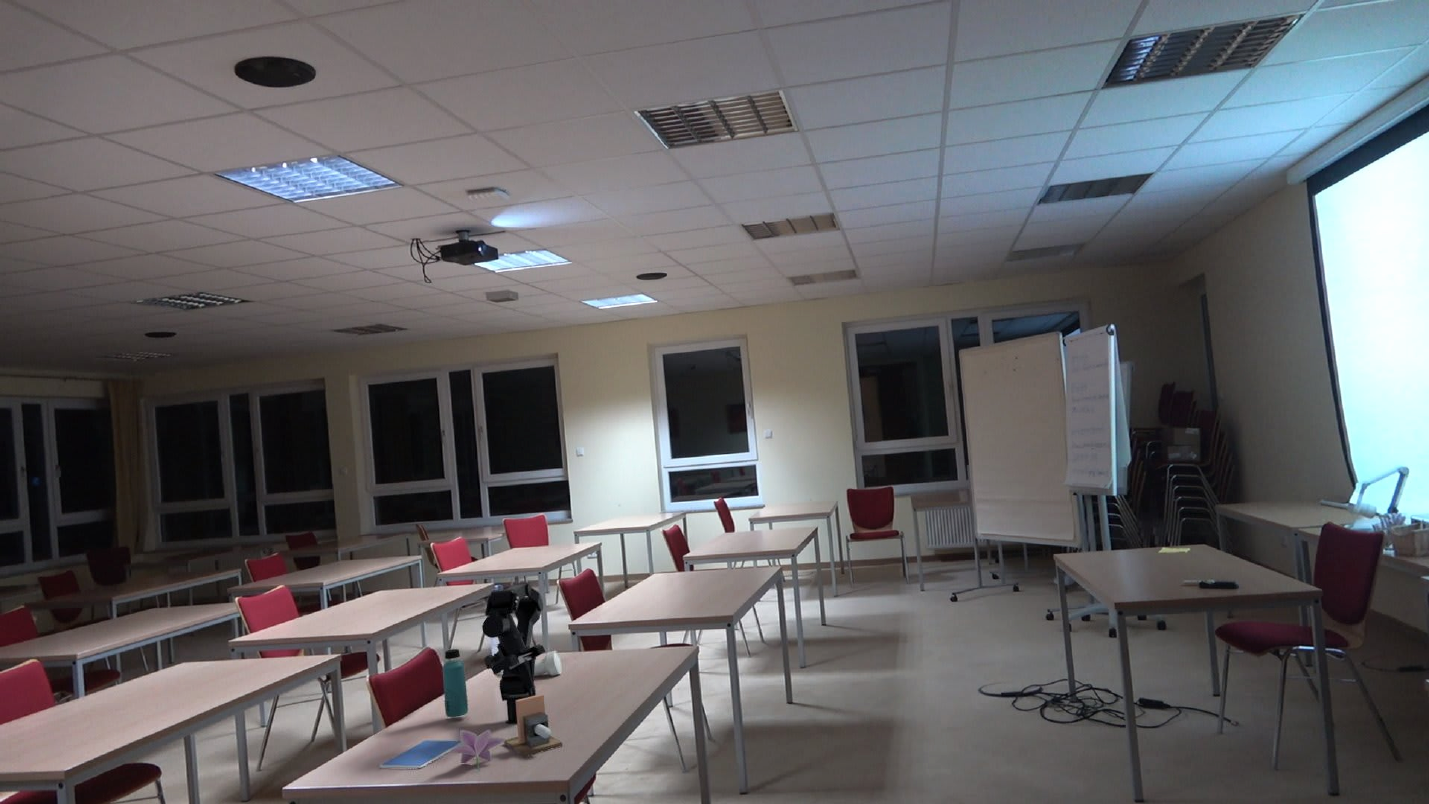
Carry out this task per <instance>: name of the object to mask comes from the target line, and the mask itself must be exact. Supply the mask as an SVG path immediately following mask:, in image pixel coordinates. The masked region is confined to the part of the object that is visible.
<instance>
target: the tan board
mask: <svg viewBox="0 0 1429 804" xmlns="http://www.w3.org/2000/svg"><path fill="white" fill-rule="evenodd" d="M505 740H506V741H505V742H503V744H504V745H505V746H506V747H508V746H509V747H508V748H510V749H511V748H512V750H513V751H515V752H516V751H517V752H516V753H518V752H519V753H518V754H520V755H521V754H522V755H521V756H523V757H524V756H525V758H526V757H529V756H528V755H530V756H532V755H531V754H533V755H536V753H537V754H540V753H542V752H541V751H544V752H547V751H549V750H548V749H551V748H554V749H557V748H556V747H558V748H560V747H559V746H561V747H563V741H561V740H558V739H557V738H555V737H553V736H551V735H550V736H549V740H550V743H548V744H544V745H541V746H537V747H534V748H530V747H528V746H526V745H525V743H522V744H521V743H519V739H518V736H515V737H512V738H507V739H505ZM546 750H547V751H546ZM551 750H552V749H551ZM539 752H540V753H539Z"/></svg>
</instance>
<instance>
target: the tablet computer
mask: <svg viewBox="0 0 1429 804" xmlns="http://www.w3.org/2000/svg"><path fill="white" fill-rule="evenodd" d="M460 745H463V744H462V741H461V740H434V739H433V740H430V739H429V740H424V741H421V742H420V743H418V744H416V745H415V746H412V747H411V748H409V749H406V750H405V751H404V752H402V753H400V754H398V755H396V756H394V757H392V758H390V759H389V760H386V761H385V762H383V763H381V764H380V765H379V767H378V768H379V769H380V768H406V769H405V770H418V769H417V768H421V767H423V766H425V767H426V766H428V765H429V764H428V763H430V764H432V763H433V762H434V760H435V761H437V760H438V759H440V758H441V756H442V757H444V756H445V755H447V754H448V753H450V752H449V751H451V750H452V749H454V748H456V747H458V746H460ZM446 753H447V754H446ZM444 754H445V755H444ZM439 757H440V758H439ZM436 759H437V760H436ZM432 761H433V762H432ZM427 764H428V765H427ZM408 768H409V769H408ZM410 768H411V769H410ZM413 768H414V769H413ZM423 768H424V767H423ZM421 769H422V768H421Z"/></svg>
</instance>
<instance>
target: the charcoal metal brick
mask: <svg viewBox="0 0 1429 804" xmlns="http://www.w3.org/2000/svg"><path fill="white" fill-rule="evenodd" d="M538 723H539V724H541V725H543V726H545V727H547V728H549V715H548V714H547V713H546V712H545V713H543V712H539V713H535V714H531V715H527V716H523V724H524V738H525V745H526V746H528V747H530V748H534V747H537V746H541V745H544V744H548V743H550V740H549V737H548V738H543V737H541V736H540V735H538V734H536V733H534V729H533V725H535V724H538ZM549 729H550V728H549Z"/></svg>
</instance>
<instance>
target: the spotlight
mask: <svg viewBox="0 0 1429 804" xmlns="http://www.w3.org/2000/svg"><path fill="white" fill-rule="evenodd" d="M562 667H563V666H562V661H561V657H560V655H559V653H558V652H557V650H552V651H548V652H547V653H546V654H545V656H544V658H542V659H539V660H535V668H534V678H535V677H538V676H541V675H545V674H549V675H550V676H552V677H555V676H558V675H561V674H562V671H563V669H562Z"/></svg>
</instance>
